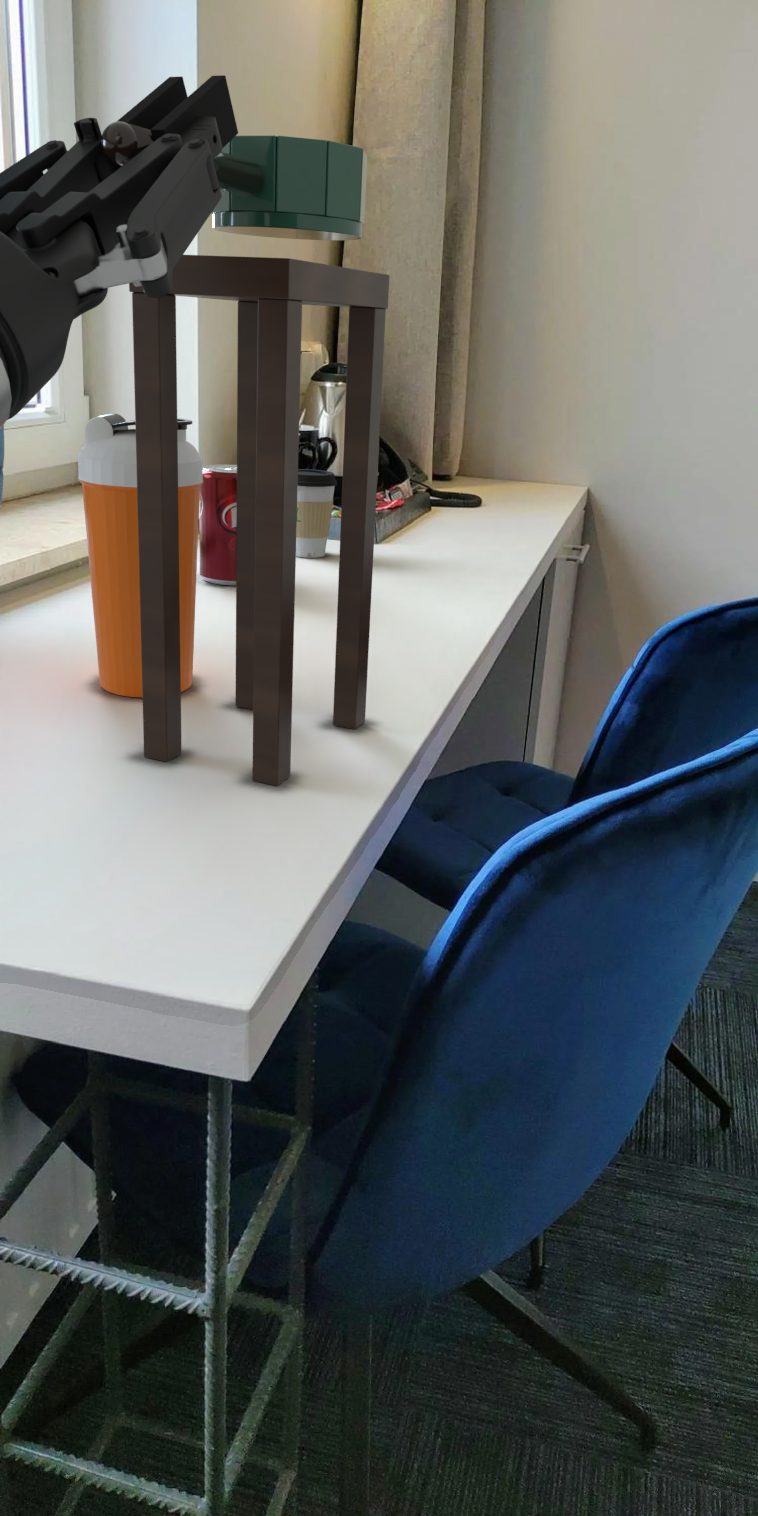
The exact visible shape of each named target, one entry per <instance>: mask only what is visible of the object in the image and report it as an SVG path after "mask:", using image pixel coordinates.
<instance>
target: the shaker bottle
mask: <svg viewBox="0 0 758 1516" xmlns="http://www.w3.org/2000/svg"><path fill="white" fill-rule="evenodd" d="M190 425H193V420H191V419H187V418H178V417H177V437H178V514H179V591H180V668H181V693H183V692H185V691H186V690H188V689H190V688H191V686H192V684H193V673H194V648H195V647H194V645H195V620H196V596H197V572H198V571H197V570H198V547H199V545H198V544H199V496H200V486H201V485H202V484H203V467H204V464H203V463H204V462H203V461H204V460H203V458H202V455H200V453H199V452H198V450H197V448H196V447H195V446H194V445H193V444H192V443H190V442H189V441H187V429H188V426H190ZM129 426H135V419H131V420H126V418H124V417H123V416H122V415H121V414H119V413H116V412H115V413H114V412H110V413H107V414H103V415H97V416H93V417H92V418H90V419H89V420H88V421H87V422H86V424H85V426H84V439H85V440H84V441H85V443H84V445H83V446H82V448H81V450H80V451H79V452H78V453H77V468H78V470H77V471H78V473H77V474H78V478H77V480H78V481H79V483H81V486H82V487H81V489H82V499H83V510H84V520H85V522H84V523H85V533H86V543H87V544H86V545H87V554H88V555H87V557H88V566H89V575H90V576H89V577H90V589H91V598H92V611H93V622H94V623H93V624H94V632H95V644H96V655H97V666H98V678H99V679H98V680H99V685H100V687H101V688H102V689H103V690H104V691H106V692H108V693H110V694H113V695H117V696H122V697H128V698H129V697H130V698H142V699H143V695H142V657H141V619H140V580H139V542H138V504H137V466H136V428H129Z"/></svg>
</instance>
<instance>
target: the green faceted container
mask: <svg viewBox="0 0 758 1516" xmlns="http://www.w3.org/2000/svg"><path fill="white" fill-rule="evenodd" d="M116 121H117V122H116ZM116 121H114V122H110V123H109V124H108V125H107V126H106V127H105V128H104V130H103V131H102V133H101V134H102V138H101V144H102V149H103V151H104V153H105V155H106V157H107V158H108V159H109V160H110V161H112V162H113V163H115V164H117V165H121V166H123V165H124V164H126V163H127V162H128V161H130V160H131V159H132V158H133V157H135V156H136V155H137V154H139V153H140V152H141V151H143V150H144V149H145V148H146V147H148V146H149V145H150V144H152V143H153V142H154V141H153V138H152V134H151V130H149V129H145V128H142V127H139V126H135V125H132V124H129V123H125V122H120V121H118V120H116ZM213 163H214V167H215V171H216V175H217V179H218V183H219V187H220V191H221V195H222V197H221V199H220V201H219V202H218V204H217V205H216V207H215V208H214V210H213V211H212V213H211V214H210V215H212V229H213V230H214V231H217V232H223V233H228V234H235V235H243V236H252V237H263V238H276V239H288V240H289V239H290V240H291V239H292V240H308V241H310V240H311V241H357V240H361V239H362V238H363V226H364V225H365V224H366V223H365V220H366V202H367V201H366V199H367V198H366V197H367V180H368V179H367V178H368V177H367V175H368V154H367V152H366V151H365V149H364V148H362V147H359V146H354V145H350V144H346V143H341V142H337V141H332V140H327V139H318V138H309V137H297V136H287V135H272V134H271V135H265V134H263V135H261V134H260V135H259V134H258V135H236V136H235V137H234V138H233V139H232V140H231V141H230V142H229V143H228V144H227V145H226V146H225V147H224V148H223V149H222V152H221V153H220V154H219V155H218V156H216V158H215V159H213Z"/></svg>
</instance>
